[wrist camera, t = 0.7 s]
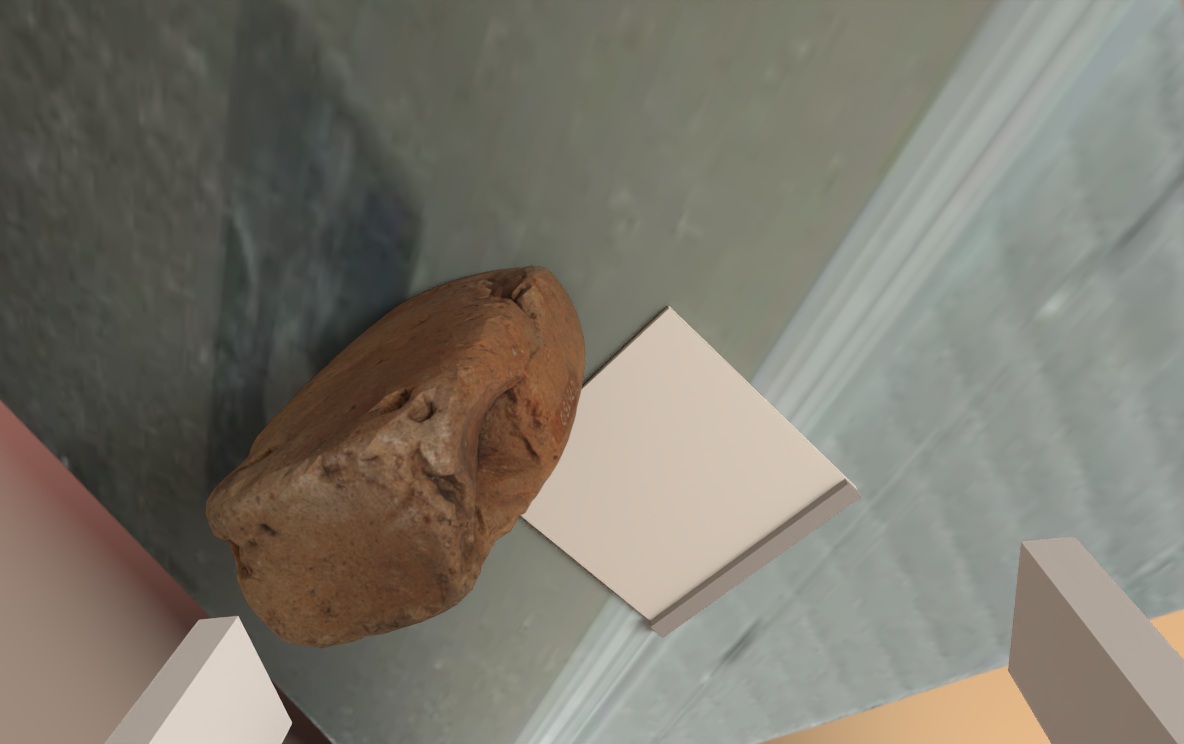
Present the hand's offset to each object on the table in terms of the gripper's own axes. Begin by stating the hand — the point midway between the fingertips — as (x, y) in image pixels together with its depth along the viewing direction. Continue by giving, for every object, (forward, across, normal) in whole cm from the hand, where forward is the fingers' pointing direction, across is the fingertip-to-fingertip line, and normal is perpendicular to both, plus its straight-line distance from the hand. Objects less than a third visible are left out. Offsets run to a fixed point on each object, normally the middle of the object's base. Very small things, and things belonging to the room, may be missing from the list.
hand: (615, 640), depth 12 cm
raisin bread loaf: (+28, -8, -4) cm, 29 cm away
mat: (+27, 0, -15) cm, 31 cm away
